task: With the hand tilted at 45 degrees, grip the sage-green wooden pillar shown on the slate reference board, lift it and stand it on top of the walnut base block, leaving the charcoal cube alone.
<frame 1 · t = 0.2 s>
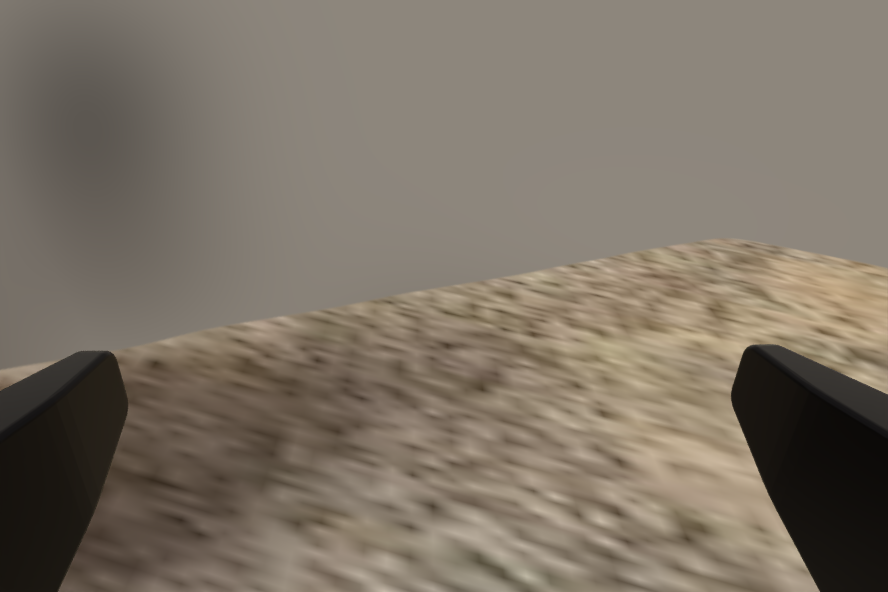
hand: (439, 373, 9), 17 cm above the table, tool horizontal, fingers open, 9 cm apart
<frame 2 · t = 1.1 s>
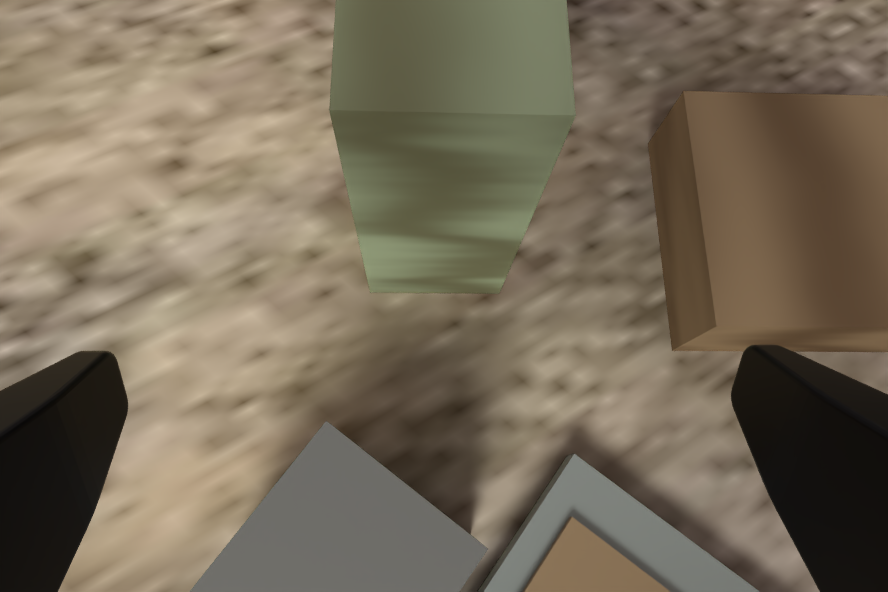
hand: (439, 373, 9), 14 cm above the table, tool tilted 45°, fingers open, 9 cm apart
charcoal cube: (358, 552, 21), on the table
walnut base block: (763, 246, 26), on the table
sage pillar: (434, 233, 25), on the table
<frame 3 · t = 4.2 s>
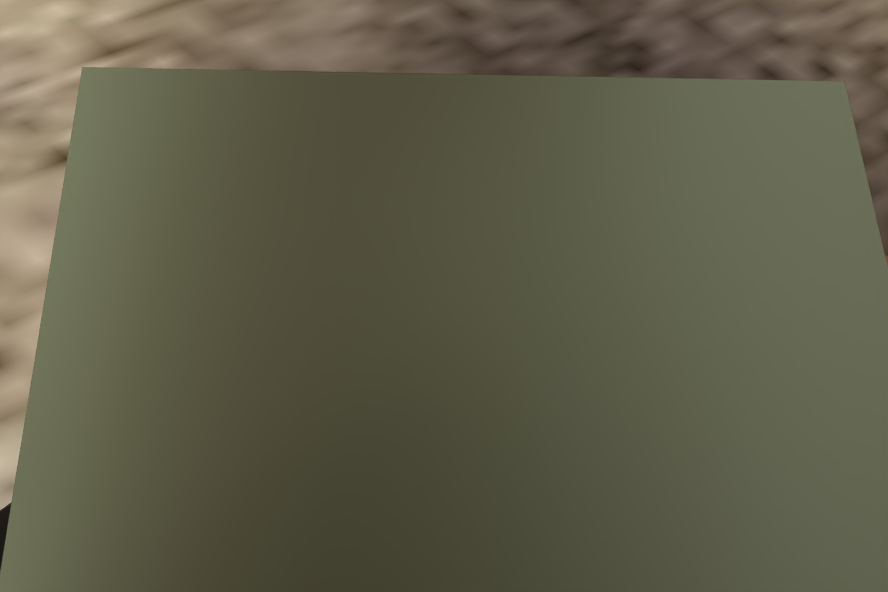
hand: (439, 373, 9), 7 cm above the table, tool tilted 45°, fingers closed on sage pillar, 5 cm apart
sage pillar: (425, 474, 15), on the table, touching gripper
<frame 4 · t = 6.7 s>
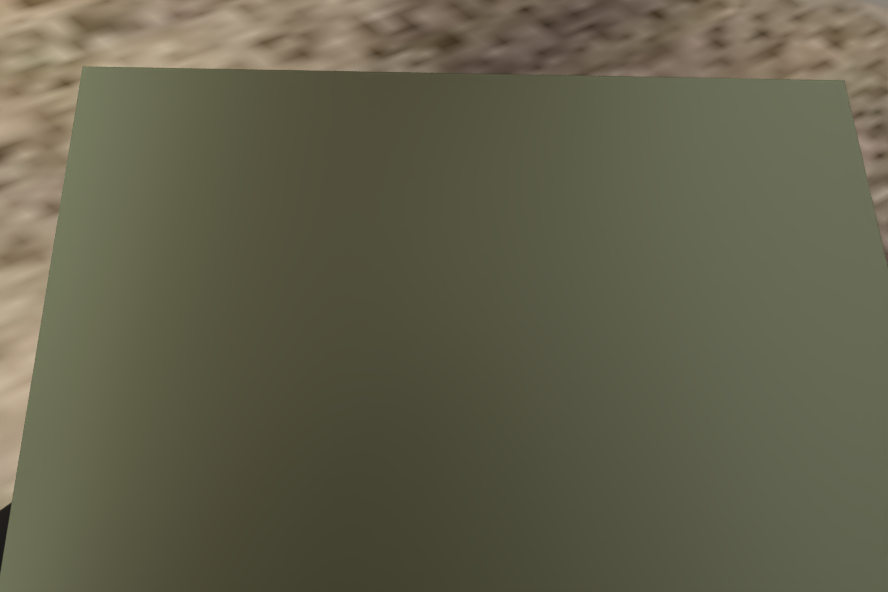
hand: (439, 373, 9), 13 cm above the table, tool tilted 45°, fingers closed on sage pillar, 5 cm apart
sage pillar: (425, 474, 15), point 6 cm above the table, touching gripper
when the fingers open (12 cm above the table, at t = 9.3 s): sage pillar drops 1 cm, resting on walnut base block.
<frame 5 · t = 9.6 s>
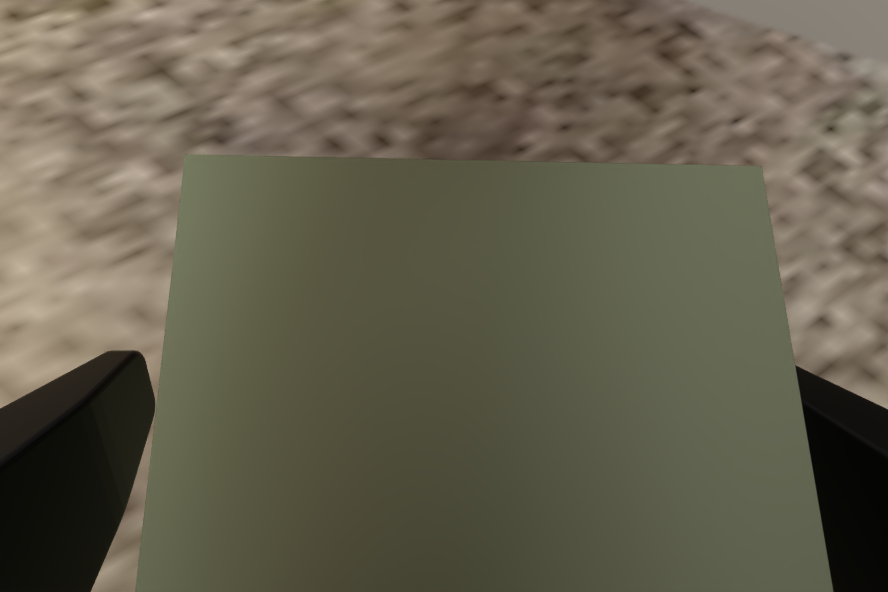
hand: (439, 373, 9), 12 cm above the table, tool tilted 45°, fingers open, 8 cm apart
sage pillar: (428, 469, 16), point 4 cm above the table, touching walnut base block
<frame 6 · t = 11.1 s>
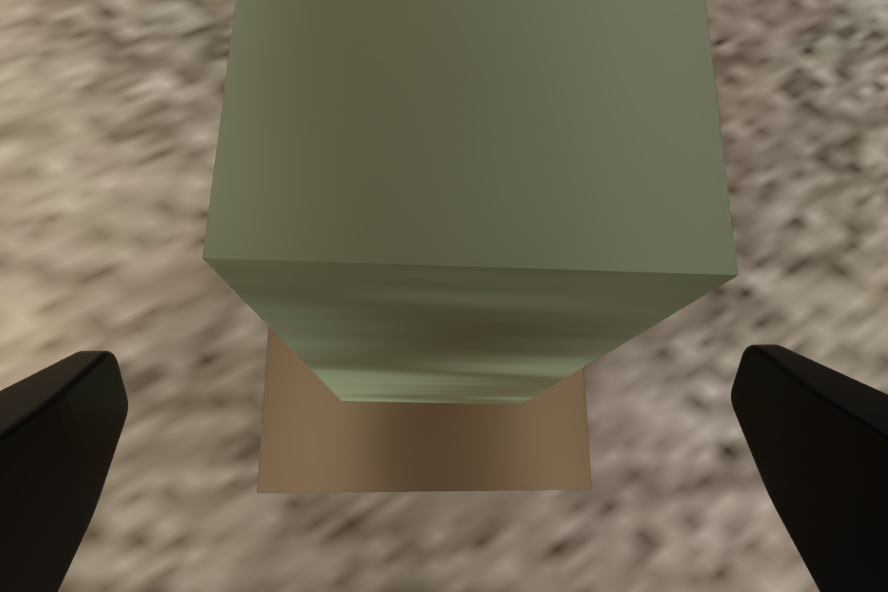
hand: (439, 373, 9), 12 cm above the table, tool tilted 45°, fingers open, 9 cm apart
walnut base block: (423, 353, 22), on the table, touching sage pillar
sage pillar: (433, 315, 18), point 4 cm above the table, touching walnut base block
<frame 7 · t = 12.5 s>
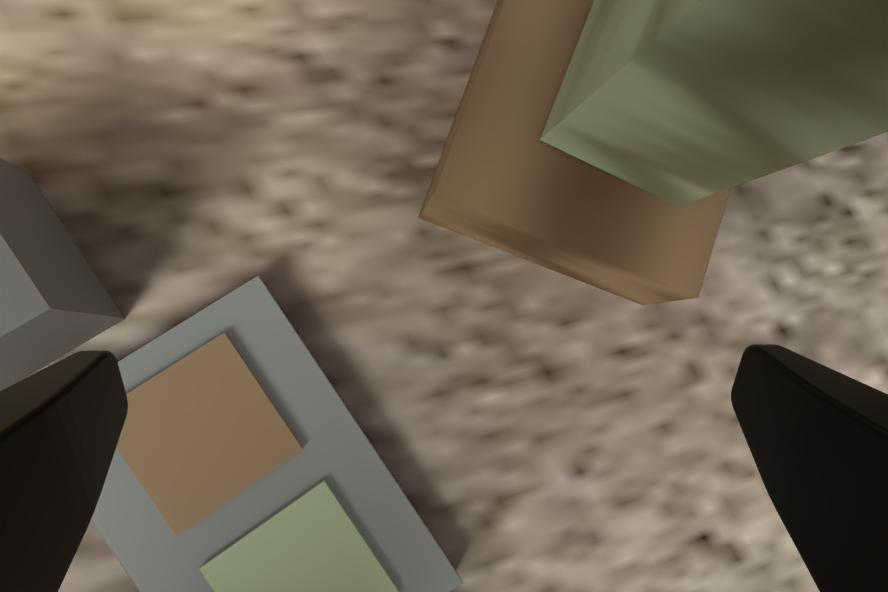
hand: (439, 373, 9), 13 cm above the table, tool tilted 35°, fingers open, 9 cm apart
walnut base block: (567, 153, 24), on the table, touching sage pillar
reference board: (257, 497, 20), on the table
sage pillar: (636, 103, 20), point 4 cm above the table, touching walnut base block
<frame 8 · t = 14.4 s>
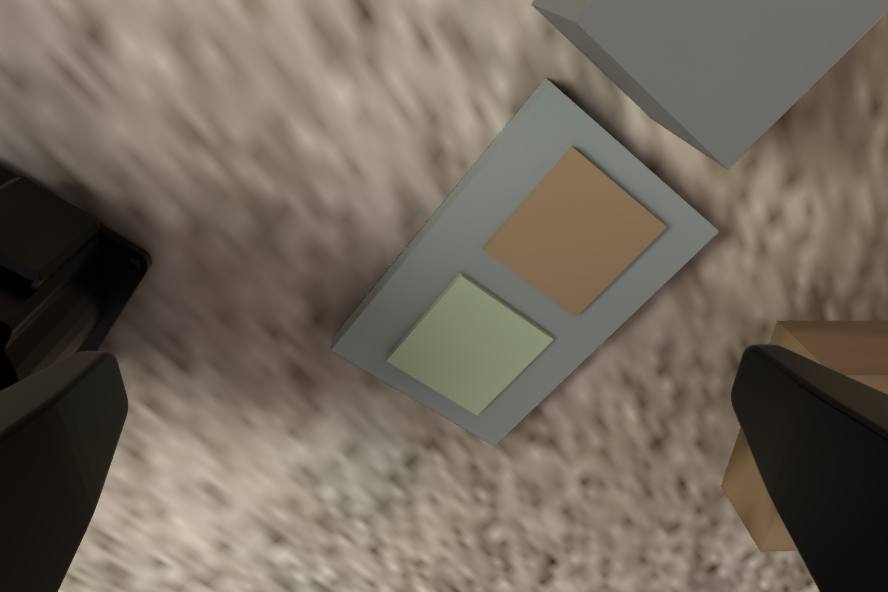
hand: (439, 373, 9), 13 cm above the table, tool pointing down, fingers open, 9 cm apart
walnut base block: (841, 403, 27), on the table
reference board: (514, 280, 23), on the table
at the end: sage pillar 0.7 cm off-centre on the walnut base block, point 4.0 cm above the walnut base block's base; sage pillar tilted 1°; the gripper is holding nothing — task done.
